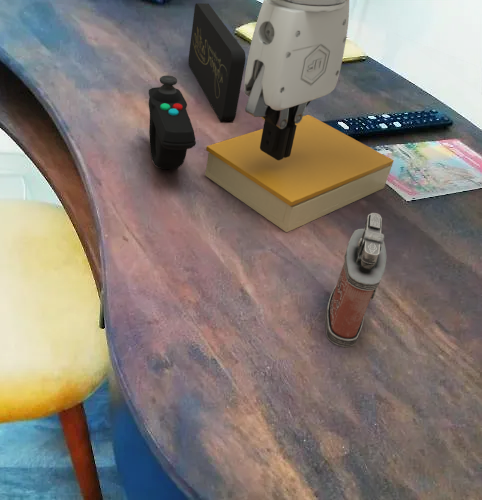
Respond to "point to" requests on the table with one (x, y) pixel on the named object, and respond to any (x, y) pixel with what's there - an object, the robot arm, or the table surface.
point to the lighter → (356, 283)
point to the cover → (302, 161)
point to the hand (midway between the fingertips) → (274, 153)
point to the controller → (169, 125)
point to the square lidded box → (299, 212)
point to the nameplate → (216, 61)
